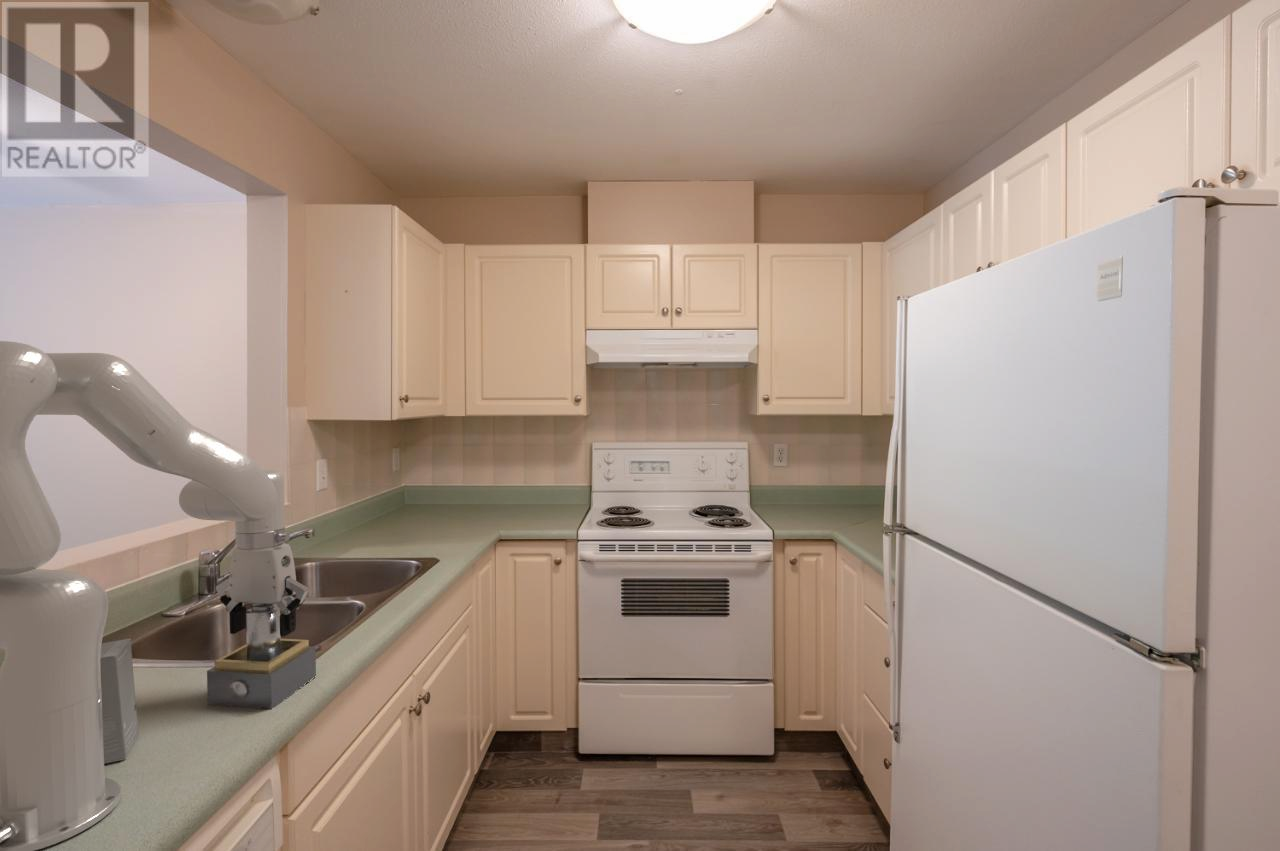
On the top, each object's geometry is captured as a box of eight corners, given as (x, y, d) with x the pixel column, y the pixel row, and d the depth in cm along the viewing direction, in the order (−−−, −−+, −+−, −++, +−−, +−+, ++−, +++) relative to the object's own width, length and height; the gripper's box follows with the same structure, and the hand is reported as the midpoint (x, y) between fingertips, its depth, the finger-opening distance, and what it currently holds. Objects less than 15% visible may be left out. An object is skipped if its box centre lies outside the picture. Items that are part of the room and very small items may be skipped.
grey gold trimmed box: (269, 710, 99) (268, 667, 99) (205, 706, 100) (204, 663, 100) (316, 677, 111) (315, 638, 111) (258, 673, 112) (257, 635, 112)
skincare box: (126, 761, 85) (122, 655, 85) (60, 776, 82) (55, 666, 81) (141, 732, 93) (137, 634, 92) (80, 745, 89) (77, 643, 88)
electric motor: (266, 665, 103) (265, 609, 102) (239, 663, 103) (238, 608, 103) (292, 649, 109) (291, 597, 109) (266, 648, 110) (265, 596, 109)
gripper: (319, 535, 108) (321, 626, 108) (233, 533, 109) (235, 622, 110) (290, 545, 100) (292, 643, 101) (199, 542, 102) (202, 638, 103)
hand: (263, 632), depth 105 cm, fingers open, 9 cm apart
